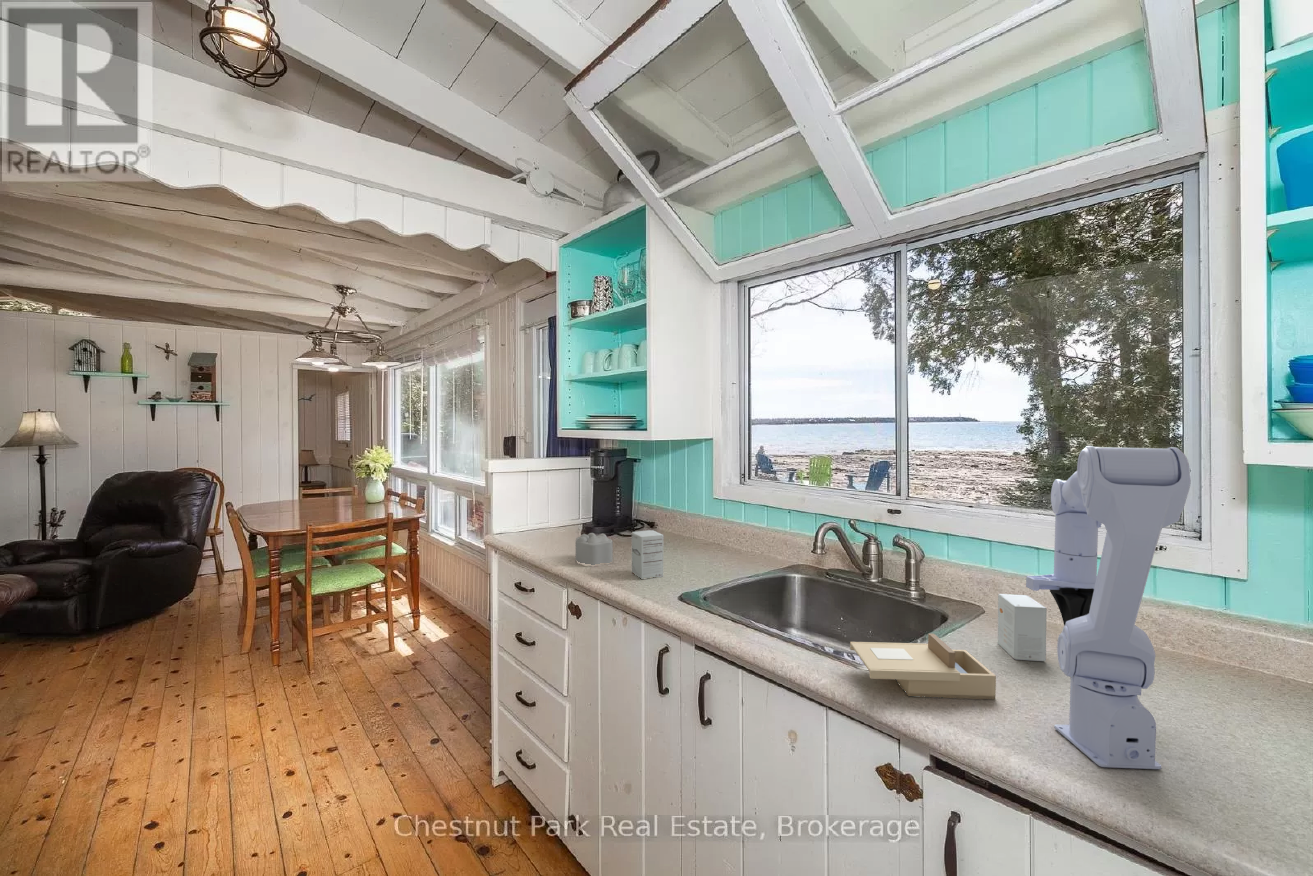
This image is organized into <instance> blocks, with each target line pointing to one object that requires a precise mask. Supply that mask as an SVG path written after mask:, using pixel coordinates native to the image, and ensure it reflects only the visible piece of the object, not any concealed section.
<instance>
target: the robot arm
mask: <svg viewBox="0 0 1313 876" xmlns="http://www.w3.org/2000/svg"><path fill="white" fill-rule="evenodd" d="M1076 465H1077V466H1076V468H1077V469H1076V471H1074V473H1072V475H1070V477H1068V479H1067V480H1062V479H1059V478H1057V479H1054V481H1053V483H1052V486H1051V490H1050V491H1051V492H1050V502H1051V503H1050V504H1051V509H1052V511H1053V513H1054V515H1055V517H1054V518H1055V519H1054V527H1055V528H1054V549H1053V550H1054V551H1053V553H1054V555H1053V573H1050V574H1042V575H1041V574H1040V575H1026V578H1025V580H1026V582H1025V588H1027V589H1029V590H1032V591H1035V592H1037V591H1041V590H1042V591H1043V590H1046V591H1047V590H1048V591H1049V592H1050V594H1051V595H1052V597H1053V599H1054V601H1055V603H1056V605H1057V607H1058V610H1059V612H1060V616H1061V618H1062V619H1061V620H1062V621H1063V628H1062V631H1061V633H1060V634H1058V637H1057V642H1056V643H1057V646H1056V652H1057V661H1058V665H1059V669H1060V670H1061V672H1063V674H1064V675H1065V677H1070V681H1069V682H1070V685H1069V717H1068V718H1069V719H1068V721H1069V722H1068V724H1056V723H1055V724H1054V726H1053V727H1054V729H1055V730H1056V731H1058V732H1059V733H1060V734H1061V735H1062V736H1063V737H1064V738H1065V739H1066V740H1068V741H1069V742H1070V743H1071V744H1073V745H1074V746H1075V747H1076V748H1077V749H1078V750H1080V752H1082V753H1083V754H1084V755H1085V756H1087V758H1089V759H1090V760H1091V761H1092V762H1094V763H1095V764H1096V765H1097V766H1099V767H1102V768H1116V769H1117V768H1118V769H1121V768H1122V769H1140V770H1141V769H1143V770H1144V769H1145V770H1146V769H1147V770H1162V765H1161V763H1159V762H1158V761H1157V760H1156V738H1157V735H1156V734H1157V723H1156V719H1155V717H1154V715H1153V714H1152V712H1151V711H1149V710H1148V708H1146V707H1145V706H1144V705H1143V704H1142V703H1141V701H1140V699H1139V697H1138V696H1142V690H1146V689H1148V688H1149V687H1150V686H1151V685H1153V682H1154V681H1155V680H1154V679H1155V670H1156V669H1155V661H1156V651H1155V648H1154V646H1153V643H1152V641H1151V639H1150V637H1149V636H1148V634H1147V633H1146V632H1145V630H1144V629H1141V628H1140V627H1139V626H1137V625H1136V621H1137V618H1138V614H1139V610H1140V606H1141V603H1142V601H1143V595H1144V592H1145V588H1146V585H1147V582H1148V577H1149V573H1150V571H1151V568H1152V567H1151V566H1152V563H1153V559H1154V555H1155V551H1156V548H1157V546H1158V543H1159V539H1160V536H1161V533H1162V529H1164V528H1167V527H1168V526H1171V525H1174V524H1175V523H1178V522H1179V521H1180V518H1181V515H1182V513H1183V511H1184V509H1185V505H1186V501H1187V500H1188V499H1187V498H1188V496H1189V495H1188V494H1189V491H1190V487H1191V474H1190V473H1191V471H1190V470H1191V469H1190V464H1189V459H1188V458H1187V456H1186V454H1185V453H1184V452H1182V450H1181V449H1179V448H1178V447H1173V446H1172V447H1171V446H1170V447H1167V448H1164V447H1163V448H1161V447H1159V448H1158V447H1157V448H1156V447H1155V448H1154V447H1153V448H1152V447H1150V448H1149V447H1114V446H1113V447H1109V446H1107V447H1105V446H1104V447H1102V446H1093V445H1086V446H1085V447H1084V448H1082V450H1081V451H1080V452H1079V455H1078V458H1077V464H1076ZM1102 524H1103V526H1104V528H1105V531H1106V532H1105V533H1106V534H1105V537H1104V542H1103V548H1102V552H1101V555H1100V556H1101V557H1100V562H1099V566H1098V548H1099V547H1098V544H1099V543H1098V542H1099V529H1100V528H1101V527H1102Z"/></svg>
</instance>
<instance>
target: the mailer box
mask: <svg viewBox="0 0 1313 876" xmlns="http://www.w3.org/2000/svg"><path fill="white" fill-rule="evenodd" d="M952 650H953V651H954V652H955V668H956V669H957V670H958V672H960V681H937V680H902V679H896V680H897V682H898V683H899V684H900V685H899V684H898V683H897V682H896V683H897V684H898V685H899V687H900V686H901V687H902V688H903V689H904V691H906V693H907V694H906V693H905V694H906V696H907V695H908V696H920V697H919V698H925V697H938V698H937V699H960V700H961V699H963V700H994V701H996V694H997V693H996V689H997V683H996V682H997V675H996V674H995V673H994V672H992V671H991V670H990V669H988V668H987V667H986V666H985V665H984V664H983V663H982V662H980V660H978V659H977V658H975V657H974V656H973V655H972V654H971V653H970V652H968V650H966V649H952ZM896 680H895V681H896ZM901 687H900V688H901ZM902 688H901V689H902ZM903 689H902V690H903ZM904 691H903V692H904ZM908 696H907V697H908ZM922 696H923V697H922ZM924 696H925V697H924ZM939 697H940V698H939ZM941 697H943V698H941Z"/></svg>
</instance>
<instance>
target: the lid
mask: <svg viewBox="0 0 1313 876" xmlns="http://www.w3.org/2000/svg"><path fill="white" fill-rule="evenodd" d="M927 635H928V636H927V639H928V640H927V642H928V643H922V642H921V643H919V642H918V643H915V642H913V643H912V642H882V641H881V642H880V641H879V642H876V641H875V642H874V641H849V642H850V643H849V650H850V651H854V652H855V653H856V654H857V656H858V657H859V659H860V660H861V662H862V663H863V665H865V667H866V669H867V670H868V671H869V679H870V680H872V679H874V680H895V679H902V680H937V681H960V672H958V670H957V669H956V668H955V652H954V651H953V650H954V649H953V648H950V646H949V645H948V644H947V643H945V641H943V640H942V639H941V638H940V637H939V636H938V635H937V634H935V633H928V634H927Z"/></svg>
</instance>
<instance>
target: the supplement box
mask: <svg viewBox="0 0 1313 876" xmlns="http://www.w3.org/2000/svg"><path fill="white" fill-rule="evenodd" d="M632 572H633V573H634V574H635V576H636V575H637V576H638V577H637V576H636V577H637V578H639V577H640V578H641V579H644V578H650V577H659V578H662V577H664V534H662V533H660V532H657V531H656V530H653V529H648V530H639V531H632V532H631V573H632ZM634 574H633V575H634ZM640 578H639V579H640ZM641 579H640V580H641ZM644 580H645V579H644Z"/></svg>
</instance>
